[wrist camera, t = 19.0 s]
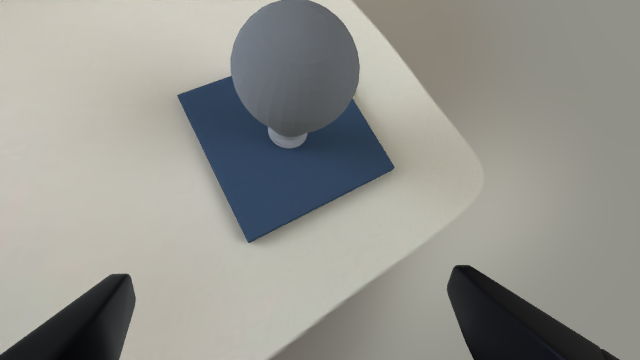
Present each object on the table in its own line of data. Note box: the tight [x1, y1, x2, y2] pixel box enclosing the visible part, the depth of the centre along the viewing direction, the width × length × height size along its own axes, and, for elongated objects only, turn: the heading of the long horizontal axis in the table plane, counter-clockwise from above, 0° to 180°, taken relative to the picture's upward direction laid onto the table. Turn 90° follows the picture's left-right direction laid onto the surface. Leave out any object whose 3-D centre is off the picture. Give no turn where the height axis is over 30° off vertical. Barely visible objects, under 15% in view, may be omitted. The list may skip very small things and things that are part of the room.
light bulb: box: [231, 0, 360, 149], centre depth 17 cm, size 6×6×10 cm
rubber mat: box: [178, 76, 395, 243], centre depth 22 cm, size 11×11×1 cm
